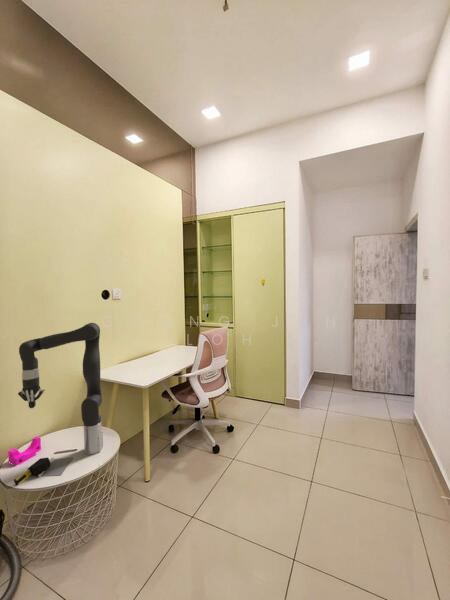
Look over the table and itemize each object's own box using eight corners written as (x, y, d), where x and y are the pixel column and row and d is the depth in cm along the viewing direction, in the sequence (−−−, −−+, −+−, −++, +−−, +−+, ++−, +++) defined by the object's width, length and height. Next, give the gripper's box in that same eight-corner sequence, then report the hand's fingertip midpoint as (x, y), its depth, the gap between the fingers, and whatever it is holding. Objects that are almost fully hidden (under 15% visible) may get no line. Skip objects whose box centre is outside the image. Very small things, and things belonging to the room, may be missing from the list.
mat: (72, 457, 148) (72, 455, 148) (61, 475, 135) (60, 472, 135) (52, 459, 147) (52, 457, 147) (38, 477, 133) (38, 474, 133)
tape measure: (40, 458, 141) (52, 456, 139) (42, 465, 141) (54, 463, 140) (13, 479, 127) (26, 477, 125) (16, 487, 127) (29, 485, 125)
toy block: (16, 467, 141) (16, 453, 141) (8, 464, 144) (8, 451, 143) (44, 450, 156) (43, 438, 155) (36, 448, 158) (35, 436, 157)
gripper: (47, 373, 151) (48, 403, 152) (21, 375, 149) (23, 405, 150) (40, 378, 143) (41, 409, 144) (13, 379, 141) (14, 411, 142)
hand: (32, 407), depth 147 cm, fingers closed
